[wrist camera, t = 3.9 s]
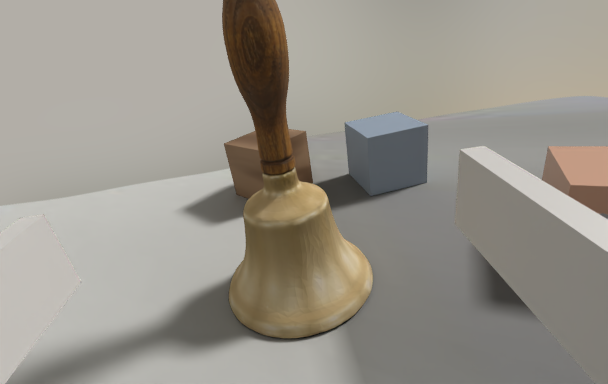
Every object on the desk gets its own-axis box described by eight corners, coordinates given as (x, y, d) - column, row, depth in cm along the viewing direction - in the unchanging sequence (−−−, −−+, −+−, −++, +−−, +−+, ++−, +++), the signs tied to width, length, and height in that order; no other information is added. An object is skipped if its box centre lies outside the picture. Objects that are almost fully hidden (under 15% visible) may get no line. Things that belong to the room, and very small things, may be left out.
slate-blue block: (398, 163, 33) (397, 111, 31) (426, 183, 29) (428, 124, 26) (349, 174, 32) (344, 122, 30) (370, 196, 28) (367, 138, 26)
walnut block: (275, 174, 35) (266, 126, 33) (313, 183, 32) (305, 131, 29) (236, 195, 32) (223, 143, 29) (274, 208, 28) (262, 151, 26)
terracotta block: (534, 219, 22) (548, 146, 20) (634, 226, 20) (661, 146, 18) (551, 269, 18) (570, 185, 16) (677, 283, 16) (719, 190, 14)
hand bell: (207, 280, 21) (106, -21, 14) (314, 225, 25) (276, -32, 18) (277, 373, 15) (157, -84, 8) (404, 281, 19) (402, -80, 12)
